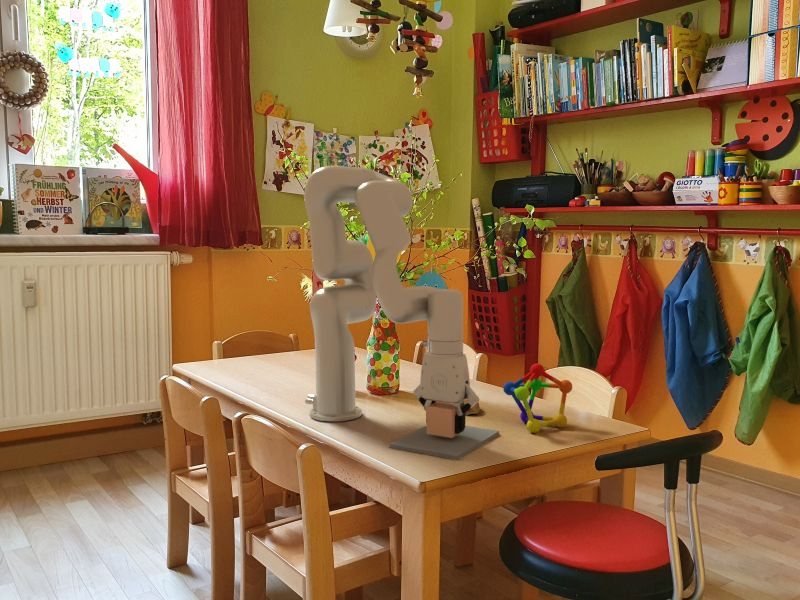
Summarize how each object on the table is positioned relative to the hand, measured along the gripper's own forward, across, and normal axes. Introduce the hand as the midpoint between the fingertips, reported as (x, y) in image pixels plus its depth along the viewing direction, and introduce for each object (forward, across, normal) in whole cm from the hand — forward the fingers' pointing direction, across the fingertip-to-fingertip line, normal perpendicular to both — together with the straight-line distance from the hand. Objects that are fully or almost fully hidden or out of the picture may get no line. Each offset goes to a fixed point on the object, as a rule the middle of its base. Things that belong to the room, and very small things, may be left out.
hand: (445, 429), depth 157 cm
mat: (+3, 0, 0) cm, 3 cm away
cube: (+1, 0, 0) cm, 1 cm away
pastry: (+3, -8, +25) cm, 26 cm away
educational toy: (+3, +12, +20) cm, 24 cm away
